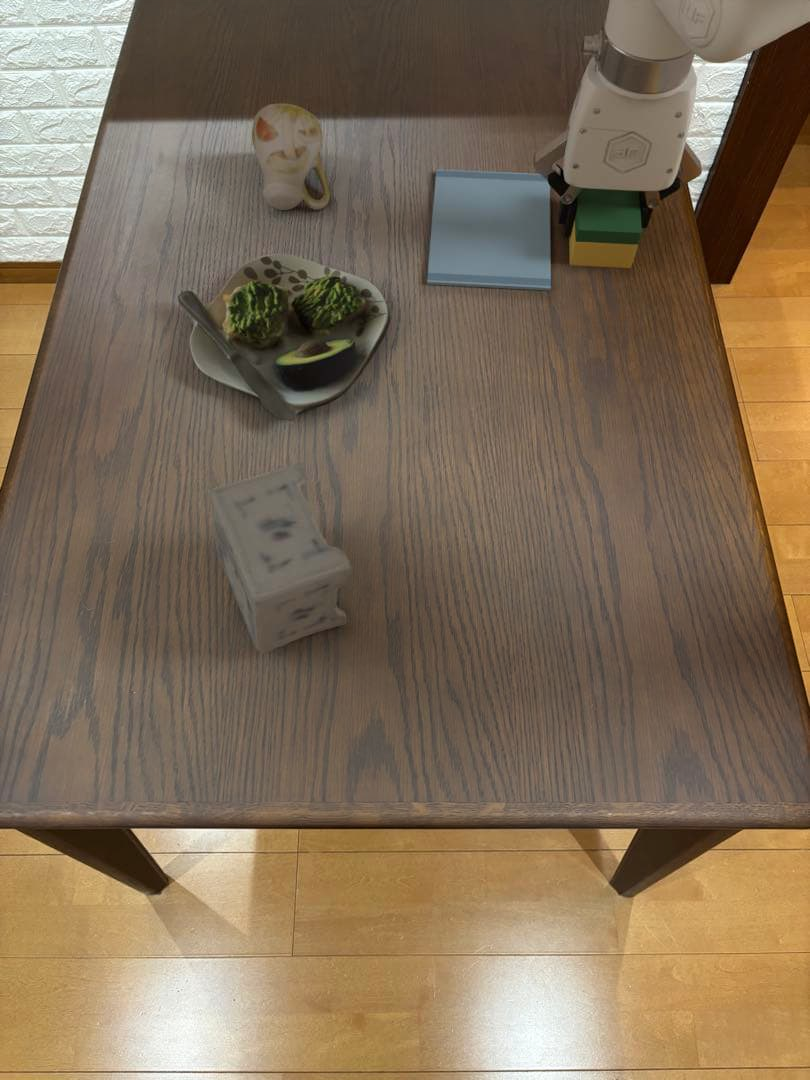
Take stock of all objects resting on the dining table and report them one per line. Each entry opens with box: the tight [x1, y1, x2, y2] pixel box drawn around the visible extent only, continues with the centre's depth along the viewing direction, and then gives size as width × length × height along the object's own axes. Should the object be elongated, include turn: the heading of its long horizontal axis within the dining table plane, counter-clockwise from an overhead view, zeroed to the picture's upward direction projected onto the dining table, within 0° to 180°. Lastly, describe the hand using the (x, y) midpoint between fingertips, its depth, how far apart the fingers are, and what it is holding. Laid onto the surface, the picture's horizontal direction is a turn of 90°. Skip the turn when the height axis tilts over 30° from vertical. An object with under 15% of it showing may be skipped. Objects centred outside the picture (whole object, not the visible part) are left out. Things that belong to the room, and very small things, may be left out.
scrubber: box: [568, 188, 643, 269], centre depth 81 cm, size 9×6×4 cm, turn 176°
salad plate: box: [177, 253, 391, 422], centre depth 75 cm, size 19×18×5 cm
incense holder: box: [209, 462, 352, 654], centre depth 61 cm, size 10×8×10 cm
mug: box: [251, 102, 331, 211], centre depth 84 cm, size 8×10×10 cm
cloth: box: [426, 168, 552, 292], centre depth 84 cm, size 12×16×1 cm
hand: (600, 227), depth 83 cm, fingers closed on scrubber, 6 cm apart
